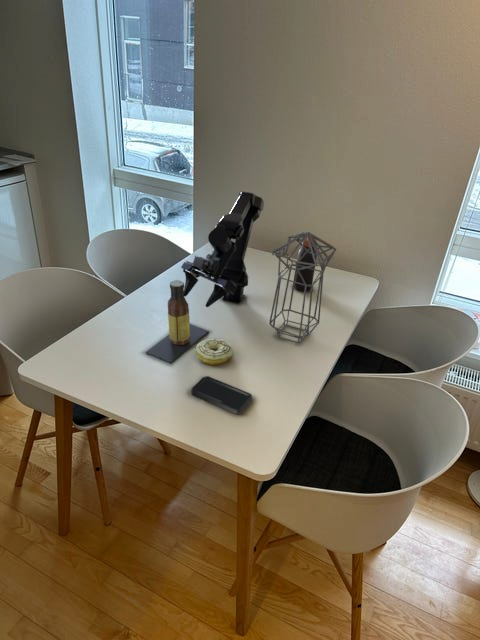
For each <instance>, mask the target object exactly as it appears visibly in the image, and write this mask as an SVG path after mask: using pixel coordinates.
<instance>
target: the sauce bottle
mask: <svg viewBox="0 0 480 640" xmlns="http://www.w3.org/2000/svg"><path fill="white" fill-rule="evenodd" d="M184 287H185V283H184V281H183V280H179V279H174V280H172V281H170V282H169V290H170V298H169V299H168V301H167V320H168V335H169V337H170V341H171V342H172V344H175V345H184V344H187V343H188V342H189V340H190V324H191V323H190V307H189V303H188V301H187V300H186V299H187V298H185V296H184Z"/></svg>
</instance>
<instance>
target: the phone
mask: <svg viewBox="0 0 480 640" xmlns="http://www.w3.org/2000/svg"><path fill="white" fill-rule="evenodd" d="M190 393H191V395H192V396H193V397H196V398H199V399H201V400H202V401H204V402H207V403H210V404H212V405H214V406H216V407H218V408H221V409H223V410H225V411H228V412H230V413H232V414H234V415H240V414H242V413H243V412H244V410H245V409H246V408H247V406H248V405H249V404H250V403H251V401H253V395H252V393H250V392H248V391H245V390H242V389H240V388H238V387H235V386H233V385H230V384H228V383H226V382H223V381H221V380H218V379H216V378H213V377H211V376H209V375H205V376H203V377H202V378H201V379H200V380H199V381H198V382H196V383H195V384H194V385H193V386H192V387H191V390H190Z"/></svg>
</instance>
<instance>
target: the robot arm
mask: <svg viewBox="0 0 480 640" xmlns="http://www.w3.org/2000/svg"><path fill="white" fill-rule="evenodd" d="M264 207H265V201H264V199H263V198H262V197H261V196H258V195H256V194H255V193H254V192H250V191H243V190H242V191H240V192H238V198H237V200H236V201H235V203H234V205H233V207H232V209H231V211H230V212H229V213H227V214H225V215H223V216H222V217H221V219H220V220H219V221H218V222H217V224H216V225H215V226H214V228H213V229H212V230H211V231H210V232H209V233H208V235H207V239H208V242H209V244H210V246H211V248H212V249H213V250H212V252H211V253H207V254H206V256H200V255H194V259H193V262H192V261H189V260H186V261H184V262H183V263H182V264H181V266H180V268H181V269H182V272H183V273H184V276H185V283H184V297H187V296H188V295H189V294H190V293H191V291H192V290H193V288H194V287H195V286H196V284H197V283H198V282H199V279H198V278H200V277H201V278H203V279H205V280H208V281H210V282H212V283H214V284H213V291H212V292H211V294H210V295H209V297H208V299H207V300H206V303H205V308H209V307H211V306H212V305H213V304H215V303H216V302H217V301H219V300H222V301H225V302H229V303H232V304H236V305H237V304H238V305H239V304H240V303H241V302H242V301H243V300H244V298H245V297H246V295H245V294H244V293H245V292H244V291H245V287H248V286H249V275H248V273H247V266H246V264H245V257H246V254H247V249H248V247H249V246H248V245H249V241H250V238H251V233H252V229H253V225H254V223H255V222H256V221H257V220H258V219H259V218H260V216H261V213H262V212H263V210H264ZM233 240H235V241H233Z"/></svg>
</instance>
